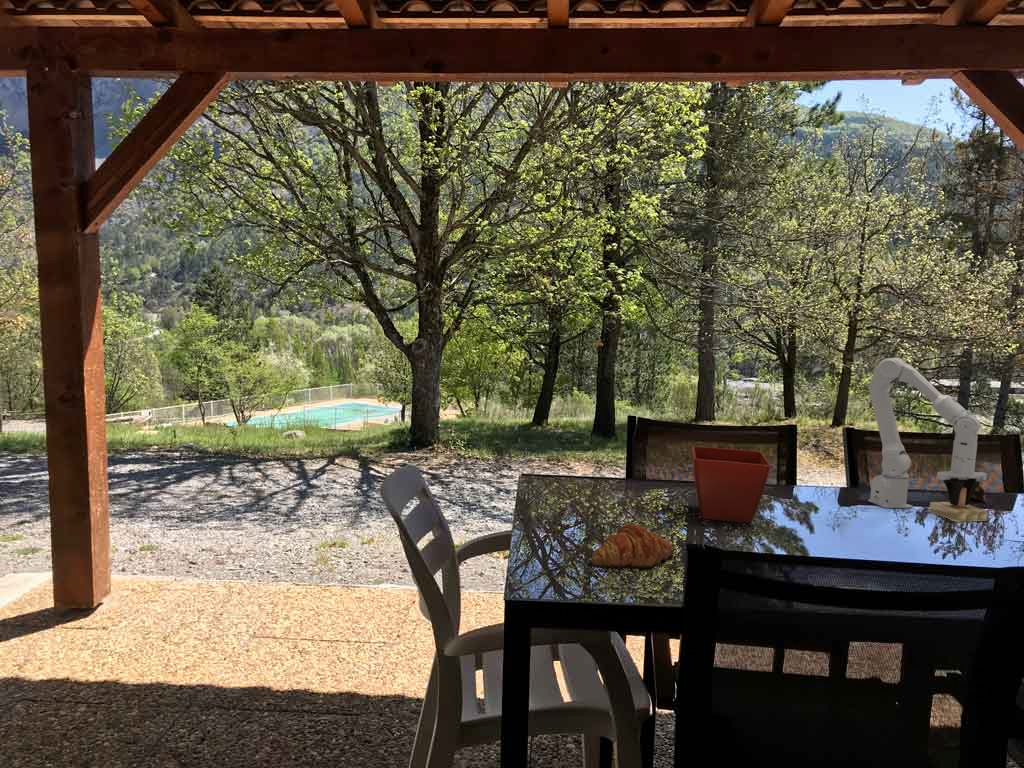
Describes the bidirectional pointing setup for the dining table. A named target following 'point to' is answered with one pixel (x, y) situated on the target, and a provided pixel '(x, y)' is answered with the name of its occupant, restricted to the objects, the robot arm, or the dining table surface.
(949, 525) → the dining table surface
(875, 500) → the robot arm
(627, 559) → the pastry
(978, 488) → the pottery mug
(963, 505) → the pin
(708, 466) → the plant pot
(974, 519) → the bore block
